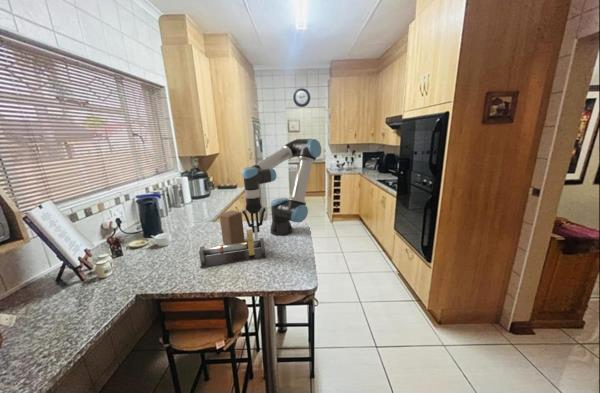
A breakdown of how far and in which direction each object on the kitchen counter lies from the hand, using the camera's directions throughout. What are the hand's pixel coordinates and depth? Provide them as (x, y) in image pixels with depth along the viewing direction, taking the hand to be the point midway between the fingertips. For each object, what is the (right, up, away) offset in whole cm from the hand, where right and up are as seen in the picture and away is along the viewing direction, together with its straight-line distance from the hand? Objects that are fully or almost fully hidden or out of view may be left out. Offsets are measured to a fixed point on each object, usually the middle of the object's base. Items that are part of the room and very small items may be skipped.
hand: (256, 237), depth 138 cm
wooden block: (-17, -7, +18) cm, 26 cm away
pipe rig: (-12, -11, 0) cm, 17 cm away
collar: (-3, -8, +1) cm, 9 cm away
